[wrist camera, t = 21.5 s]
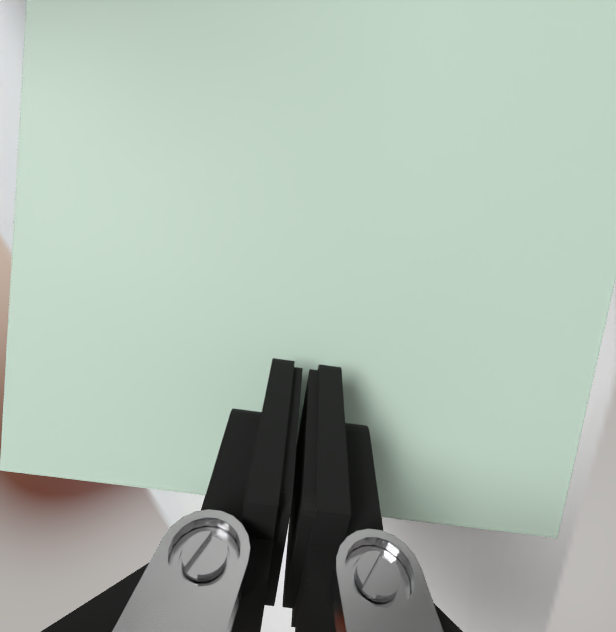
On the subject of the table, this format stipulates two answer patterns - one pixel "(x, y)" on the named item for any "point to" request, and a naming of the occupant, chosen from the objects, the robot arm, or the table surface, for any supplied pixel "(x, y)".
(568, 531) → the table surface
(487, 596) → the table surface
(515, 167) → the plate
